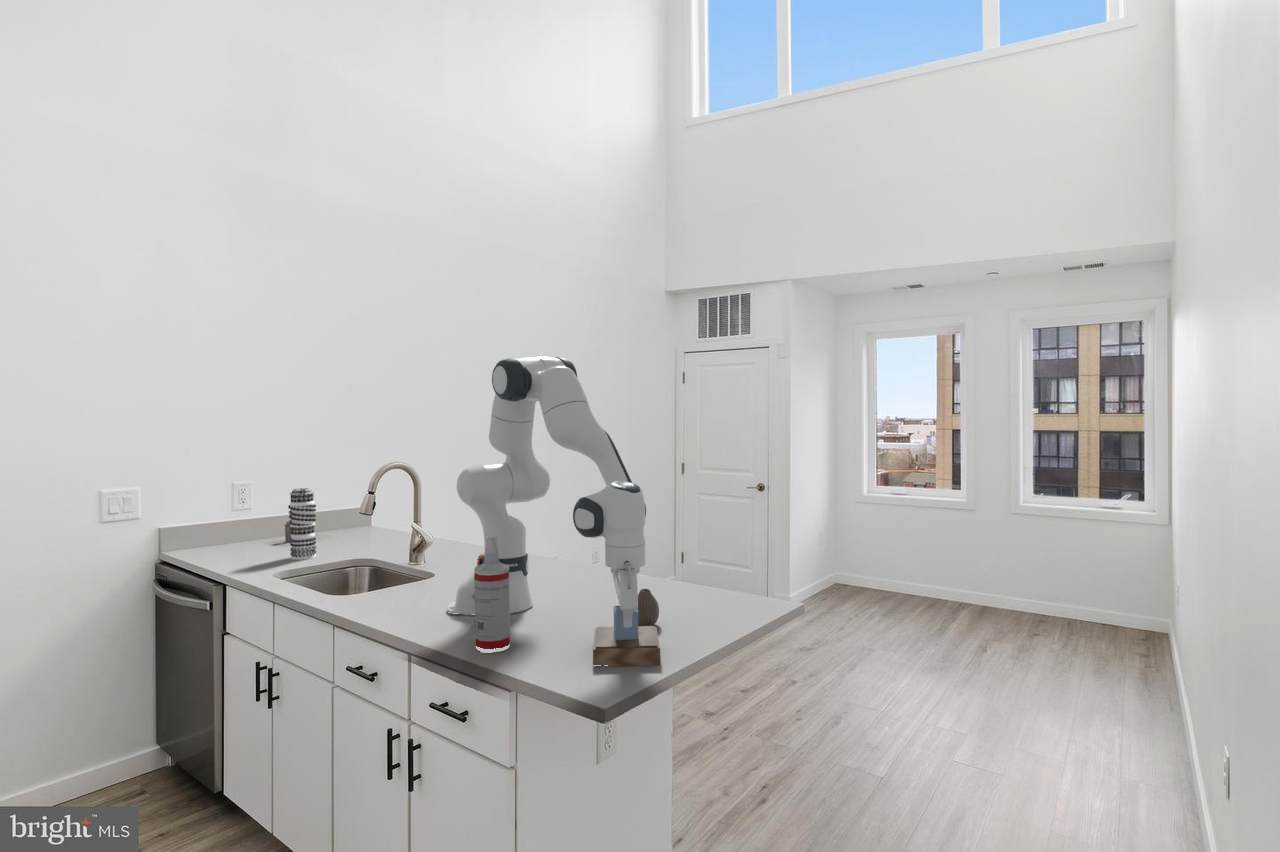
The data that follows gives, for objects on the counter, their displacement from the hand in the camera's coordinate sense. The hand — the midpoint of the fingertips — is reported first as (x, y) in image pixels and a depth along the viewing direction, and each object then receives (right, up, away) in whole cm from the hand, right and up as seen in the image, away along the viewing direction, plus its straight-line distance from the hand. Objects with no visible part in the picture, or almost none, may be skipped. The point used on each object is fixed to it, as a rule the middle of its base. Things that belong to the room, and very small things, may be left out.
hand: (625, 619), depth 153 cm
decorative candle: (-119, -6, +102) cm, 157 cm away
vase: (+4, -7, +20) cm, 22 cm away
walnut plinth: (0, -8, 0) cm, 8 cm away
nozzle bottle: (-30, -8, +5) cm, 32 cm away
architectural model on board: (-137, -5, +135) cm, 192 cm away
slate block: (0, -4, 0) cm, 4 cm away
